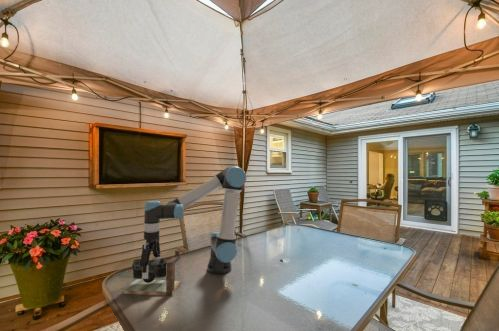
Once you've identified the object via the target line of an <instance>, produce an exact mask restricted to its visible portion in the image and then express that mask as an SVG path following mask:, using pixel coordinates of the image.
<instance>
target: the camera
mask: <svg viewBox="0 0 499 331" xmlns="http://www.w3.org/2000/svg"><path fill="white" fill-rule="evenodd" d="M140 261H141V258H136V259H134V260H133V261H132V262H133V263H132V264H131V267H132V274H133V278H132V279H134V280H136V279H142V266H140ZM148 265H149V267H148V279H143V280H144V282H146V283H150V282H152V281H153V280H155V279H158V278H161V279H162V278H165V277H166V276H167V259H165V258H160V259H158V260H157V259H156V260H153V259H149V261H148Z"/></svg>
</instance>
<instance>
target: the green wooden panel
mask: <svg viewBox="0 0 499 331" xmlns="http://www.w3.org/2000/svg"><path fill="white" fill-rule="evenodd" d="M180 258H181V250H180V249H175V250H174V256H173V257H172V258H171V259H169V260H168V261H166V263H167V264H166V280H165V279H154V280H153V281H152V282H150V283H146V282H144V280H143V279H134V280H133V282H132V283H130V284H129V285H128V286H127V287H125V288H124V289H123V294H125V295H144V296H145V295H146V296H168V297H169V296H170V297H171V296H172V297H173V296H174V295H175V294H176V292H177V291H178V290H179V288H180V287H181V286H182V281H181V280H175V278H176V277H175V276H176V274H175V273H176V263H177V262H178V261H179V260H180Z"/></svg>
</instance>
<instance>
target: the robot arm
mask: <svg viewBox="0 0 499 331" xmlns="http://www.w3.org/2000/svg"><path fill="white" fill-rule="evenodd" d="M246 181H247V173H246V172H245V170H244V169H243V168H241V167H239V166H228V167H225V169H224V168H223V170H221V171H220V172H219V173H217V174H215V175H214V177H212V178H211V179H209V180H207V181H205V182H204V183H202V184H200V185H198V186H196V187H195V188H193V189H192V190H190V191H188V192H185V193H184V194H182V195H181V196H179V197H177V198H175V199H173V200H170V201H169V202H167V203H166V204H161V203H162V202H161V201H160V200H148V201H146V202H145V203H144V222H143V223H144V224H143V228H144V229H143V230H144V231H143V239H144V240H145V244H142V245H141V246H142V250H141V255H140V256H141V257H140V259H141V261H140V266H142V279H148V267H149V265H148V261H149V260H150V258H151V257H150V256H151V253H152V256H153V257H152V260H156V259H157V260H159V258H160V257H161V246H160V228H161V226H160V225H161V221H160V220H164V219H167V220H169V219H176V220H177V219H182V218H184V209H186V208H187V207H189V206H191V205H193V204H195V203H196V202H198V201H200V200H203V198H205V197H207V196H208V195H210V194H212V193H213V192H216V191H217V190H219V189H222V190H223V191H224V197H223V204H222V211H221V219H220V226H219V231H214V232H211V233H210V257H209V260H208V262H207V266H206V267H207V268H206V269H207V272H208V273H211V274H216V275H221V274H227V273H230V271H232V263H231V262H232V261H233V260H234V259H235V258H236V256H237V254H238V248H237V246H236V244H237V236H236V234H235V232H236V231H235V230H236V224H237V223H236V222H237V216H238V207H239V199H240V193H241V192H243V188H244V185H245V183H246Z"/></svg>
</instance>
